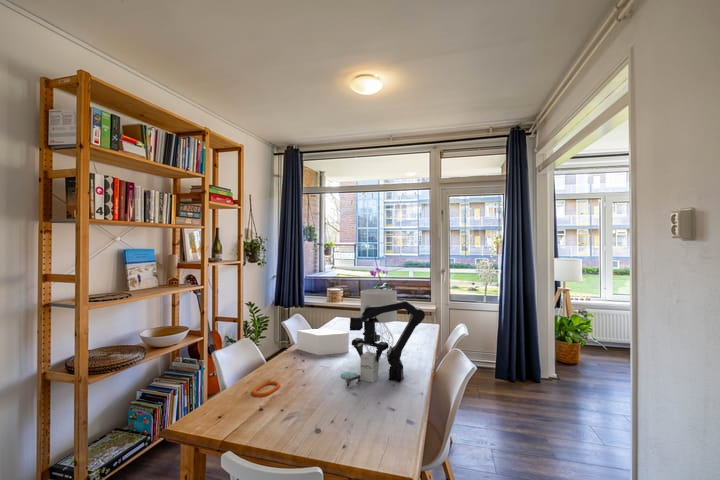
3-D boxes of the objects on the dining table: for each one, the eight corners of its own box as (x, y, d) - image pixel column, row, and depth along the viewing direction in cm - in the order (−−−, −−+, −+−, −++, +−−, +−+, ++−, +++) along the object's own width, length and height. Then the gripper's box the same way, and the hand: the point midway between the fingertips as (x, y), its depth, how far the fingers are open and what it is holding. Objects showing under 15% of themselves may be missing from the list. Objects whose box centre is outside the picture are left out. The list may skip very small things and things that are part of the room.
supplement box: (359, 380, 164) (359, 355, 165) (366, 375, 171) (366, 351, 171) (372, 383, 161) (372, 357, 161) (379, 377, 168) (379, 353, 168)
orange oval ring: (284, 382, 159) (264, 395, 145) (284, 385, 159) (264, 399, 145) (268, 379, 163) (247, 391, 149) (268, 382, 163) (247, 395, 149)
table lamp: (396, 350, 210) (396, 289, 211) (397, 363, 188) (397, 294, 189) (362, 349, 212) (362, 288, 213) (358, 361, 190) (358, 293, 191)
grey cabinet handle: (362, 382, 162) (362, 374, 162) (353, 389, 154) (353, 380, 154) (349, 379, 166) (349, 371, 166) (339, 385, 158) (339, 377, 158)
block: (345, 356, 199) (345, 336, 199) (291, 353, 205) (292, 334, 205) (351, 348, 216) (351, 329, 216) (301, 345, 222) (301, 327, 223)
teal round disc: (360, 374, 171) (360, 373, 171) (352, 380, 164) (352, 380, 164) (346, 371, 176) (346, 370, 176) (337, 377, 168) (337, 376, 168)
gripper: (392, 329, 169) (392, 359, 169) (361, 324, 178) (361, 353, 178) (383, 334, 159) (383, 366, 159) (351, 329, 168) (351, 359, 168)
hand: (369, 360), depth 166 cm, fingers open, 9 cm apart
